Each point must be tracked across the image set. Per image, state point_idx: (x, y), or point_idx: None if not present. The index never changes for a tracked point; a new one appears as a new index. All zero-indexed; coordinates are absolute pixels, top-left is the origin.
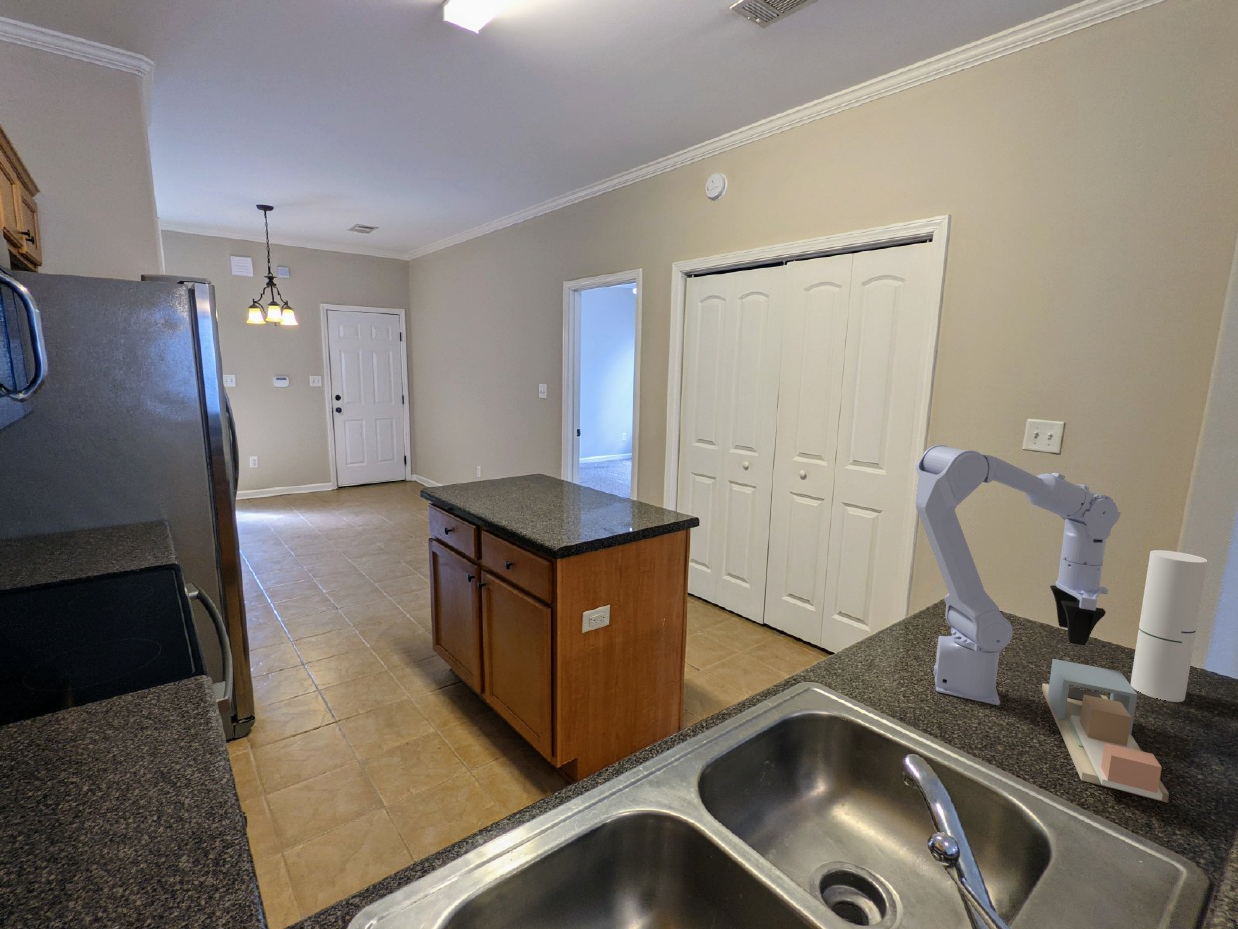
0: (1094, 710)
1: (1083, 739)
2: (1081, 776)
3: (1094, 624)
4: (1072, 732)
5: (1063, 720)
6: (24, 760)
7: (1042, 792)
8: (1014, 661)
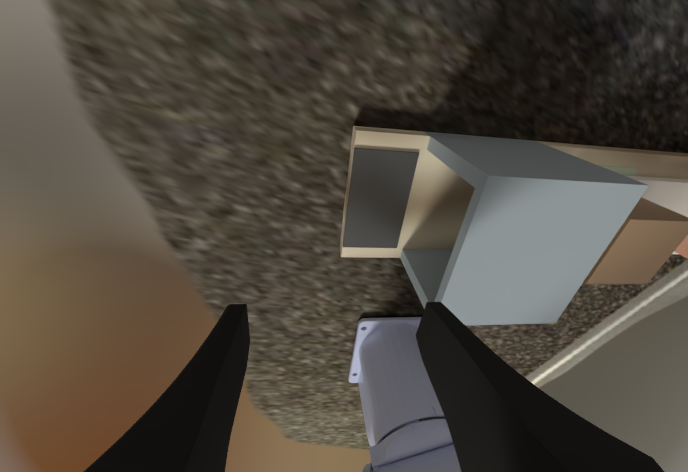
0: (648, 278)
1: None
2: None
3: (540, 394)
4: None
5: None
6: None
7: (645, 294)
8: (196, 273)
